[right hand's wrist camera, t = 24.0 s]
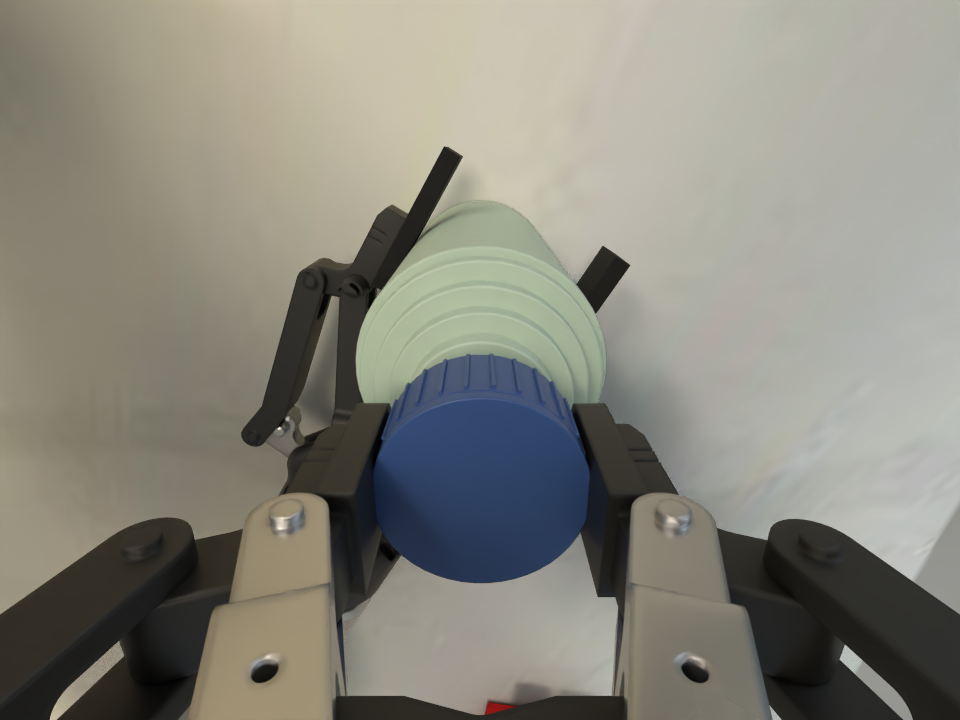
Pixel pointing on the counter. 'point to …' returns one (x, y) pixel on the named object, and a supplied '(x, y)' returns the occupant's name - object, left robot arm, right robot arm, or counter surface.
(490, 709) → the toy
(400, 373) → the bottle
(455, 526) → the cap
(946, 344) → the counter surface
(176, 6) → the counter surface
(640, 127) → the counter surface
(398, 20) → the counter surface
